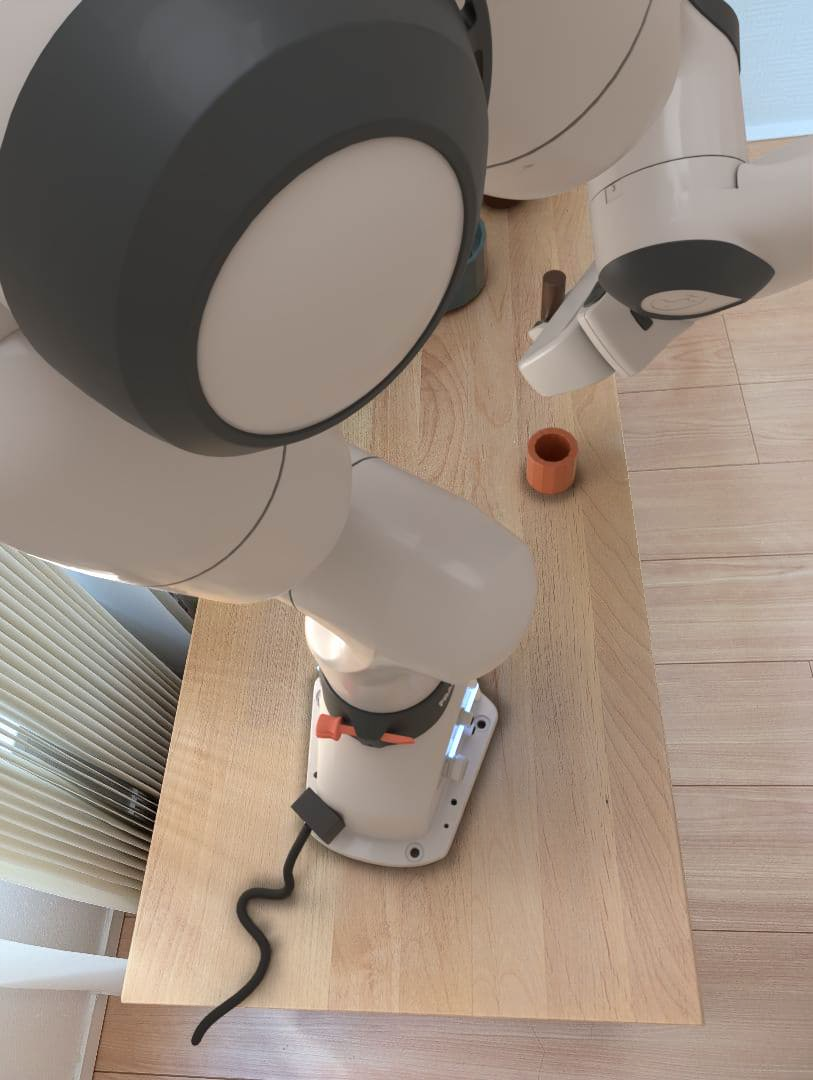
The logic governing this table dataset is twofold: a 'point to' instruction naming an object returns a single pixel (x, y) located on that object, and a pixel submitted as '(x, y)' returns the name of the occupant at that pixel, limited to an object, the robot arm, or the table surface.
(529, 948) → the table surface
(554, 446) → the holder
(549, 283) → the stick
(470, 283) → the bowl
